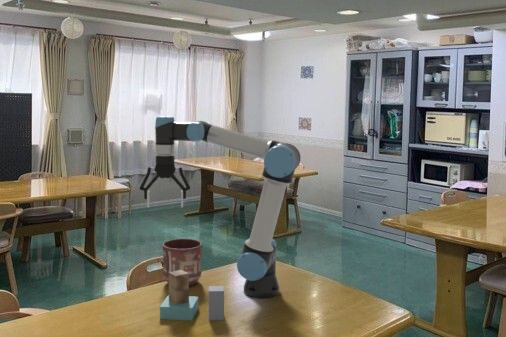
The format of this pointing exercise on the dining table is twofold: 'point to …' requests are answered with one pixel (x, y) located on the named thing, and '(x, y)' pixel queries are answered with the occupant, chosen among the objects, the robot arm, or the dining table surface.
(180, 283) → the walnut block
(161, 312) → the teal base block
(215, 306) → the slate block
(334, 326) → the dining table surface
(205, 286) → the dining table surface
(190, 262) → the pottery
